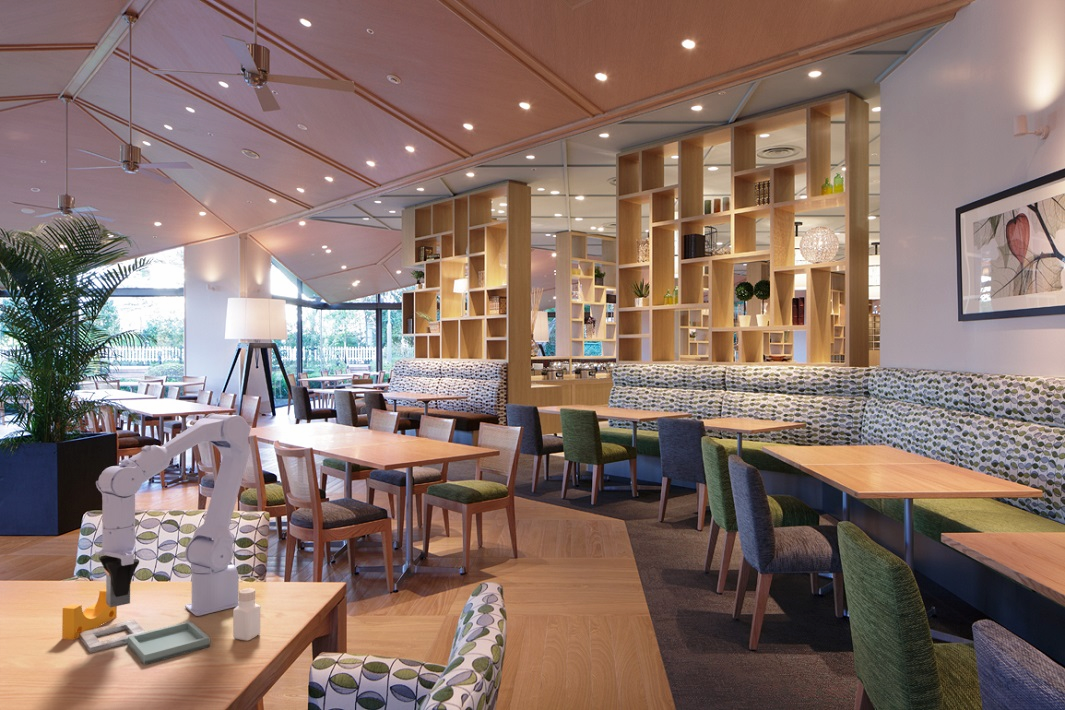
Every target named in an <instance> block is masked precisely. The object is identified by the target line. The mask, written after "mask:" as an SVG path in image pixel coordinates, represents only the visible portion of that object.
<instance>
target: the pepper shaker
mask: <svg viewBox="0 0 1065 710" xmlns="http://www.w3.org/2000/svg"><path fill="white" fill-rule="evenodd" d="M238 603H239V606H237V607H234V608H233V610H232V611H233V612H232V617H233V618H232V619H233V620H232V628H233V630H232V632H233V633H232V636H233V637H232V638H234V639H235V640H241V641H250V640H252V639H254V638H256V637H257V635H258V636H259V635H260V634H261V606H260V605H259V604H257V603H256V589H255V588H252V587H251V588H250V587H246V588H243V589H240V590H238Z"/></svg>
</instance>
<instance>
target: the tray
mask: <svg viewBox="0 0 1065 710" xmlns="http://www.w3.org/2000/svg"><path fill="white" fill-rule="evenodd" d="M127 646H128V647H129V649H130V650H131V651H132V652H133V654H135V655H136V657H137V658H138V659H139V660H140V661H141V662H142V664H143V665H148V664H153V663H157V662H160V661H164V660H166V659H172V658H174V657H177V656H181V655H182V656H183V655H185V654H188V653H193V652H197V651H200V650H203V649H206V648H210V647H211V637H210V636H208V635H207V634H206V633H205V632H204V631H203V630H201V629H200V628H199V626H197V625H196V624H195V623H193V622H192V621H191V620H189V621H185V622H182V623H181V622H180V623H177V624H172V625H170V626H169V625H168V626H165V627H160V628H157V629H153V630H150V631H146V632H144V633H140V634H136V635H132V636H128V643H127Z"/></svg>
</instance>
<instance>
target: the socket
mask: <svg viewBox="0 0 1065 710" xmlns="http://www.w3.org/2000/svg"><path fill="white" fill-rule="evenodd" d="M125 630H126V631H127V632H128V634H125V635H121V636H118V637H114V638H111V639H110V638H109V639H105V640H99V639H98V637H101V636H105V635H110V634H114V633H117V632H121V631H125ZM144 632H147V631H146V630H145V629H144V628H143V627H142V626H141V625H140V624H139V623H138V622H137V621H136V620H135V619H132V620H127V621H123V622H117V623H114V624H110V625H105V626H101V627H97V628H95V629H92V630H88V631H84V632H79V637H78V638H79V639H80V641H81V642H82V644H83V645H84V646H85V648H86V649H87V651H88V652H89V654H91V653H95V652H99V651H104V650H108V649H110V648H111V649H113V648H114V647H119V646H123V645H126V644H127V645H128V636H132V635H136V634H140V633H144Z"/></svg>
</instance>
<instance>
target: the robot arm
mask: <svg viewBox="0 0 1065 710" xmlns="http://www.w3.org/2000/svg"><path fill="white" fill-rule="evenodd" d="M251 429H252V428H251V426H250V425H249V423H248V422H247V420H246V418H244V417H243V416H241V415H238V414H237V415H235V414H234V415H232V414H231V415H230V414H229V415H227V414H219V413H210V414H207V415H205V416H204V417H202V418H199V419H198V420H196V422H195V423H194V424H193V425H191V426H190V427H188V428H186V429H185V430H184V431H182V432H180V433H179V434H177V435H175V437H174V438H172V439H170V440H169V441H167V442H165V443H164V444H163V445H161V446H159V445H156V444H153V445H144V446H142V447H141V448H140V449H141V451H140V452H138V453H136V454H135V455H133V456H131V457H130V458H128V459H127V458H124V459H122V460H121V461H120V464H119V465H112V466H109V467H106V468H104V470H103V471H102V472H101V474H99V477H98V480H96V481H95V485H96V489H98V491H99V492H100V493H101V496H102V497H101V499H102V505H101V506H102V509H101V510H102V516H101V517H102V518H101V520H102V527H101V528H102V530H101V531H102V537H101V538H102V539H101V540H102V544H101V545H102V546H101V547H102V548H100V549H96V550H95V555H96V556H99V557H98V560H99V561H100V563H101V566H102V568H103V569H104V568H108V570H109V572H110V574H111V577H112V582H113V589H114V593H115V596H116V597H119V596H124V595H128V592H129V588H130V589H131V583H132V579H133V577H134V573H135V571H136V569H137V567H138V566H139V564H140V559H138V558H135V552H136V550H137V545H136V494H137V493H138V492H139V490H140V489H141V487H142V484H143V483H145V482H146V481H148V480H150V479H152V478H153V477H154V476H156V475H158V474H160V473H161V472H163V471H164V470H165V469H168V467H169V466H170V463H171V460H172V459H173V458H175V457H177V456H179V455H180V454H182V453H184V452H186V451H188V450H190V449H191V448H193V447H195V446H197V445H198V444H201V443H203V442H209V443H211V444H212V445H213V446H214V447H216V449H217V450H218V451H219V453H220V455H221V456H222V458H221V462H220V465H219V469H218V472H217V476H216V479H215V481H214V487H213V489H212V493H211V498H210V500H209V503H208V504H209V505H208V507H207V511H206V515H205V518H204V521H203V524H202V525H200V526H199V527H197V528H196V529H195V530H194V532H193V536H192V538H191V539H190V541H189V542H188V543H187V545H186V547H185V551H184V556H185V560H186V561H187V562H188V564H190V569H191V602H190V603H189V604H185V605H184V607H185V608H186V609H187V610H188V611H189V612H191V614H192V615H194V616H196V617H200V616H205V615H209V614H212V613H216V612H220V611H223V610H229V609H232V608H233V609H234V608H236V607H237V606H239V601H238V600H239V585H240V584H239V572H238V569H237V567H236V565H235V564H233V563H232V560H233V557H234V546H233V545H234V541H235V537H234V535H233V533H232V531H231V529H230V525H231V521H232V518H233V514H234V510H235V507H236V503H237V499H238V496H239V492H240V489H241V485H242V481H243V478H244V475H245V470H246V467H247V463H248V460H249V456H250V443H249V437H250V433H251ZM230 563H232V564H230Z"/></svg>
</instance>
